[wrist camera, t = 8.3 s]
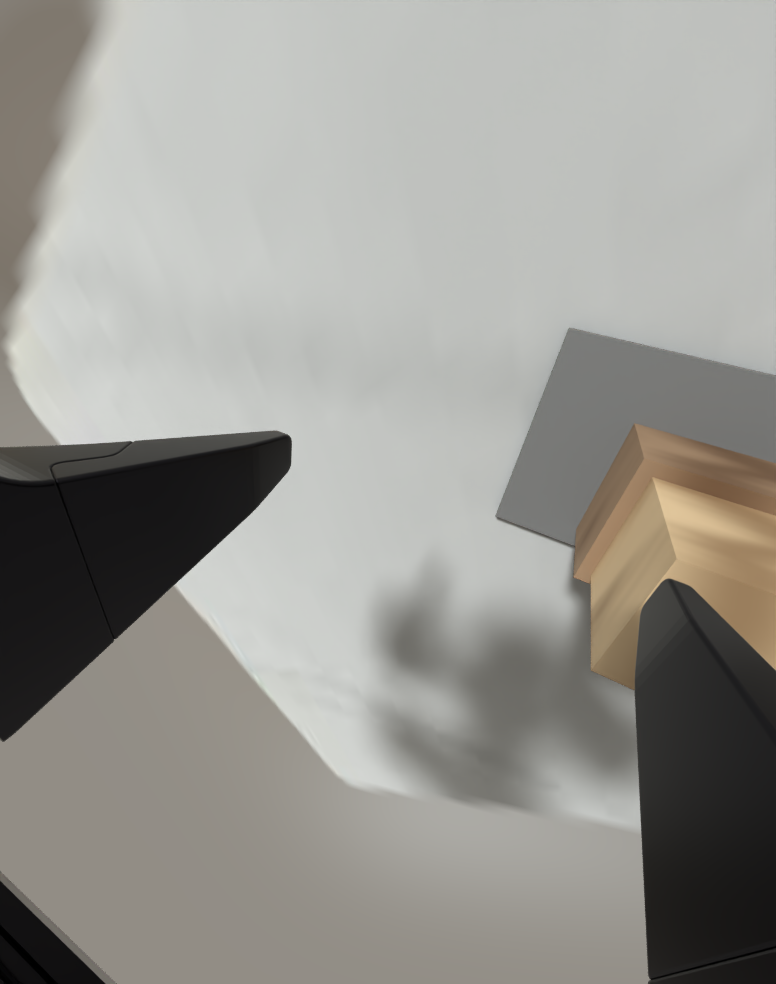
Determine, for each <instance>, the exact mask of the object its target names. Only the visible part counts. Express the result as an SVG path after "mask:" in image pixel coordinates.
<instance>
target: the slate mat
mask: <svg viewBox="0 0 776 984" xmlns="http://www.w3.org/2000/svg"><path fill="white" fill-rule="evenodd" d="M634 423H636V424H639V425H643V426H646V427H650V428H653V429H657V430H660V431H664V432H667V433H671V434H674V435H678V436H681V437H685V438H688V439H692V440H695V441H699V442H703V443H706V444H710V445H713V446H717V447H720V448H724V449H727V450H731V451H734V452H738V453H741V454H745V455H748V456H752V457H755V458H759V459H762V460H766V461H769V462H773V463H776V376H775V375H771V374H767V373H763V372H758V371H754V370H750V369H745V368H741V367H737V366H732V365H728V364H724V363H719V362H715V361H711V360H706V359H702V358H698V357H694V356H689V355H685V354H681V353H676V352H672V351H668V350H663V349H659V348H655V347H650V346H646V345H642V344H638V343H633V342H629V341H625V340H620V339H616V338H612V337H607V336H603V335H599V334H594V333H590V332H586V331H581V330H577V329H573V328H569V329H568V332H567V334H566V337H565V339H564V342H563V344H562V347H561V349H560V352H559V355H558V357H557V360H556V362H555V365H554V367H553V370H552V372H551V375H550V378H549V380H548V383H547V385H546V388H545V390H544V393H543V396H542V398H541V401H540V403H539V406H538V408H537V411H536V413H535V416H534V419H533V421H532V424H531V426H530V429H529V431H528V434H527V437H526V439H525V442H524V444H523V447H522V449H521V452H520V454H519V457H518V460H517V462H516V465H515V467H514V470H513V472H512V475H511V477H510V480H509V483H508V485H507V488H506V490H505V493H504V495H503V498H502V501H501V503H500V506H499V508H498V511H497V513H496V517H499V518H501V519H504V520H507V521H509V522H512V523H515V524H517V525H520V526H523V527H525V528H528V529H531V530H533V531H536V532H539V533H541V534H544V535H546V536H549V537H552V538H554V539H557V540H560V541H562V542H565V543H568V544H570V545H573V546H575V541H576V529H577V527H578V525H579V523H580V521H581V520H582V518H583V516H584V514H585V512H586V510H587V509H588V507H589V505H590V503H591V501H592V499H593V498H594V496H595V494H596V492H597V490H598V488H599V487H600V485H601V483H602V481H603V479H604V478H605V476H606V474H607V472H608V470H609V468H610V467H611V465H612V463H613V461H614V459H615V457H616V456H617V454H618V452H619V450H620V448H621V446H622V445H623V443H624V441H625V439H626V437H627V436H628V434H629V432H630V430H631V428H632V426H633V425H634Z"/></svg>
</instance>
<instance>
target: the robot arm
mask: <svg viewBox="0 0 776 984" xmlns="http://www.w3.org/2000/svg"><path fill="white" fill-rule="evenodd" d="M291 451H292V440H291V437H290V436H289V435H287V434H285V433H282V432H279V431H263V432H249V433H236V434H222V435H209V436H195V437H182V438H168V439H154V440H141V441H134V442H131V441H127V442H113V443H97V444H78V445H55V446H26V447H0V740H1V741H2V742H4V741H6V740H7V739H8V738H9V737H11V736H12V735H13V734H14V733H16V732H17V731H18V730H19V729H20V728H21V727H22V726H23V725H24V724H25V723H27V722H28V720H30V719H31V718H32V717H33V716H34V715H35V714H36V713H37V712H38V711H39V710H40V709H42V708H43V707H44V706H45V705H46V704H47V703H48V702H49V701H50V700H51V699H52V698H53V697H54V696H56V694H57V693H59V691H61V690H62V689H63V688H64V687H65V686H66V685H67V684H68V683H70V682H71V681H72V680H73V679H74V678H75V677H76V676H77V675H78V674H79V673H80V672H81V671H82V670H83V669H85V668H86V667H87V666H88V665H89V664H90V663H91V662H92V661H93V660H94V659H95V658H96V657H98V656H99V654H101V653H102V652H103V651H104V650H105V649H106V648H107V647H108V646H109V645H110V644H111V643H113V641H114V639H116V638H118V636H120V635H121V634H122V633H123V632H124V631H125V630H126V629H127V628H128V627H129V626H131V625H132V624H133V623H134V622H135V621H136V620H137V619H138V618H139V617H140V616H141V615H142V614H143V613H145V612H146V611H147V610H148V609H149V608H150V607H151V606H152V605H153V604H154V603H155V602H156V601H157V600H159V599H160V598H161V597H162V596H163V595H164V594H165V593H166V592H167V591H168V590H169V589H170V588H171V587H173V586H174V585H175V584H176V583H177V582H178V581H179V580H180V579H181V578H182V577H183V576H184V575H185V574H187V573H188V572H189V571H190V570H191V569H192V568H193V567H194V566H195V565H196V564H197V563H198V562H199V561H201V560H202V559H203V558H204V557H205V556H206V555H207V554H208V553H209V552H210V551H211V550H212V549H213V548H215V547H216V546H217V545H218V544H219V543H220V542H221V541H222V540H223V539H224V538H225V537H226V536H227V535H229V534H230V533H231V532H232V531H233V530H234V529H235V528H236V527H237V526H238V525H239V524H240V523H241V522H243V521H244V520H245V519H246V518H247V517H248V516H249V515H250V514H251V513H252V512H253V511H254V510H255V509H256V508H257V507H258V506H259V505H260V504H261V502H262V501H263V500H264V499H265V498H266V497H267V496H268V494H269V493H270V492H271V491H272V490H273V489H274V487H275V486H276V485H277V484H278V483H279V482H280V481H281V479H282V478H283V477H284V476H285V475H286V474H287V472H288V471H289V469H290V466H291ZM635 707H636V728H637V750H638V771H639V792H640V813H641V834H642V855H643V874H644V875H643V876H644V897H645V917H646V938H647V959H648V976H649V978H650V979H651V980H650V981H649V982H648V984H776V670H775V669H774V668H773V667H772V666H771V665H770V664H769V663H768V662H767V661H766V660H765V659H764V658H763V657H762V656H761V655H760V654H759V653H758V652H757V651H756V650H755V649H754V648H753V647H752V646H751V645H750V644H749V643H748V642H747V641H746V640H745V639H744V638H743V637H742V636H741V635H740V634H739V633H738V632H737V631H736V630H735V629H734V628H733V627H732V626H731V625H730V624H729V623H728V622H727V621H726V620H725V619H723V618H722V617H721V616H720V615H719V614H718V613H717V612H716V611H715V610H714V609H713V608H712V607H711V606H710V605H709V604H708V603H707V602H706V601H705V600H704V599H703V598H702V597H701V596H700V595H699V594H698V593H697V592H696V591H695V590H694V589H693V588H692V587H691V586H689V585H687V584H684V583H682V582H679V581H676V580H674V579H670V578H669V579H665V580H664V581H662V582H661V583H660V585H659V586H658V587H657V588H656V590H655V591H654V592H653V594H652V595H651V596H650V597H649V599H648V600H647V601H646V603H645V604H644V606H643V607H642V610H641V613H640V621H639V632H638V643H637V654H636V666H635ZM0 984H117V983H115V982H114V981H113V980H112V979H111V978H110V977H109V976H108V975H107V974H106V973H105V972H104V971H103V970H102V969H101V968H100V967H99V966H98V965H97V964H96V963H95V962H94V961H93V960H92V959H91V958H90V957H88V955H86V954H85V953H84V952H83V951H82V950H81V949H80V948H79V947H78V946H77V945H76V944H75V943H74V942H73V941H72V940H71V939H70V938H69V937H68V936H67V935H66V934H65V933H64V932H63V931H62V930H61V929H60V928H58V927H57V926H56V925H55V924H54V923H53V922H52V921H51V920H50V919H49V918H48V917H47V916H46V915H45V914H44V913H43V912H42V911H41V910H40V909H39V908H38V907H37V906H36V905H35V904H34V903H33V902H31V900H29V899H28V898H27V897H26V896H25V895H24V894H23V893H22V892H21V891H20V890H19V889H18V888H17V887H16V886H15V885H14V884H13V883H12V882H11V881H10V880H9V879H8V878H7V877H5V875H4V874H2V873H1V872H0Z"/></svg>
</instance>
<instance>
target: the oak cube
mask: <svg viewBox="0 0 776 984" xmlns="http://www.w3.org/2000/svg"><path fill="white" fill-rule="evenodd" d="M669 578H670V579H674V580H676V581H679V582H682V583H684V584H687V585H689V586H691V587H692V588H693V589H694V590H695V591H696V592H697V593H698V594H699V595H700V596H701V597H702V598H703V599H704V600H705V601H706V602H707V603H708V604H709V605H710V606H711V607H712V608H713V609H714V610H715V611H716V612H717V613H718V614H719V615H720V616H721V617H722V618H723V619H725V620H726V621H727V622H728V623H729V624H730V625H731V626H732V627H733V628H734V629H735V630H736V631H737V632H738V633H739V634H740V635H741V636H742V637H743V638H744V639H745V640H746V641H747V642H748V643H749V644H750V645H751V646H752V647H753V648H754V649H755V650H756V651H757V652H758V653H759V654H760V655H761V656H762V657H763V658H764V659H765V660H766V661H767V662H768V663H769V664H770V665H771V666H772V667H773V668H774V669H775V670H776V516H775V515H772V514H768V513H765V512H762V511H759V510H756V509H753V508H749V507H746V506H743V505H740V504H737V503H733V502H730V501H727V500H724V499H721V498H717V497H714V496H711V495H708V494H705V493H701V492H698V491H695V490H692V489H689V488H686V487H682V486H679V485H676V484H673V483H670V482H666V481H663V480H660V479H657V478H654V477H652V479H651V480H650V482H649V483H648V485H647V487H646V488H645V490H644V491H643V493H642V495H641V496H640V498H639V499H638V501H637V503H636V504H635V506H634V507H633V509H632V511H631V512H630V514H629V515H628V517H627V519H626V520H625V522H624V523H623V525H622V527H621V528H620V530H619V531H618V533H617V535H616V536H615V538H614V539H613V541H612V543H611V544H610V546H609V547H608V549H607V551H606V552H605V554H604V555H603V557H602V559H601V560H600V562H599V563H598V565H597V567H596V568H595V570H594V571H593V573H592V575H591V671H593V672H595V673H597V674H600V675H602V676H604V677H606V678H608V679H611V680H613V681H615V682H617V683H619V684H622V685H624V686H626V687H628V688H630V689H633V690H635V666H636V654H637V643H638V632H639V621H640V613H641V610H642V607H643V606H644V604H645V603H646V601H647V600H648V599H649V597H650V596H651V595H652V594H653V592H654V591H655V590H656V588H657V587H658V586H659V585H660V583H661V582H662V581H664V580H665V579H669Z"/></svg>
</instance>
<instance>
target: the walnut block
mask: <svg viewBox="0 0 776 984" xmlns="http://www.w3.org/2000/svg"><path fill="white" fill-rule="evenodd" d="M652 477H654V478H657V479H660V480H663V481H666V482H670V483H673V484H676V485H679V486H682V487H686V488H689V489H692V490H695V491H698V492H701V493H705V494H708V495H711V496H714V497H717V498H721V499H724V500H727V501H730V502H733V503H737V504H740V505H743V506H746V507H749V508H753V509H756V510H759V511H762V512H765V513H768V514H772V515H775V516H776V463H773V462H769V461H766V460H762V459H759V458H755V457H752V456H748V455H745V454H741V453H738V452H734V451H731V450H727V449H724V448H720V447H717V446H713V445H710V444H706V443H703V442H699V441H695V440H692V439H688V438H685V437H681V436H678V435H674V434H671V433H667V432H664V431H660V430H657V429H653V428H650V427H646V426H643V425H639V424H636V423H634V425H633V426H632V428H631V430H630V432H629V434H628V436H627V437H626V439H625V441H624V443H623V445H622V446H621V448H620V450H619V452H618V454H617V456H616V457H615V459H614V461H613V463H612V465H611V467H610V468H609V470H608V472H607V474H606V476H605V478H604V479H603V481H602V483H601V485H600V487H599V488H598V490H597V492H596V494H595V496H594V498H593V499H592V501H591V503H590V505H589V507H588V509H587V510H586V512H585V514H584V516H583V518H582V520H581V521H580V523H579V525H578V527H577V529H576V541H575V558H574V576H573V577H574V578H576V579H579V580H581V581H584V582H586V583H589V584H591V575H592V573H593V571H594V570H595V568H596V567H597V565H598V563H599V562H600V560H601V559H602V557H603V555H604V554H605V552H606V551H607V549H608V547H609V546H610V544H611V543H612V541H613V539H614V538H615V536H616V535H617V533H618V531H619V530H620V528H621V527H622V525H623V523H624V522H625V520H626V519H627V517H628V515H629V514H630V512H631V511H632V509H633V507H634V506H635V504H636V503H637V501H638V499H639V498H640V496H641V495H642V493H643V491H644V490H645V488H646V487H647V485H648V483H649V482H650V480H651V479H652Z"/></svg>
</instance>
